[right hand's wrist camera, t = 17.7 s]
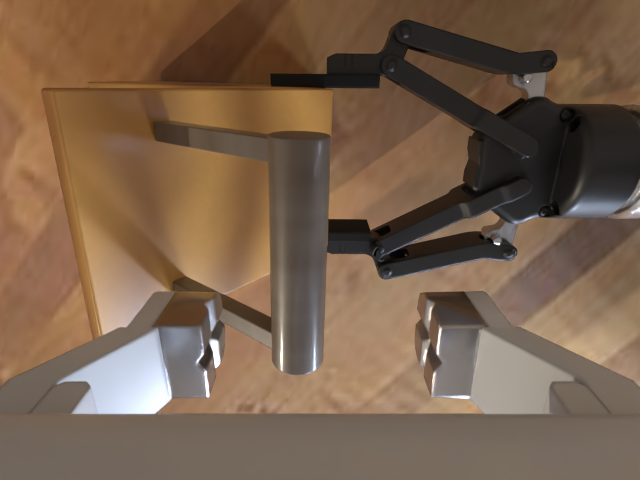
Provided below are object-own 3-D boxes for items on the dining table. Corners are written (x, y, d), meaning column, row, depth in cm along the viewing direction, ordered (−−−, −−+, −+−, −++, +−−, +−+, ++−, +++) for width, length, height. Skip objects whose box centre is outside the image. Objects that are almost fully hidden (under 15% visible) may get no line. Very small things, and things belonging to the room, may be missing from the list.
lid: (92, 343, 16) (238, 461, 11) (39, 88, 13) (215, 102, 8) (317, 243, 26) (441, 282, 22) (320, 88, 23) (469, 94, 18)
